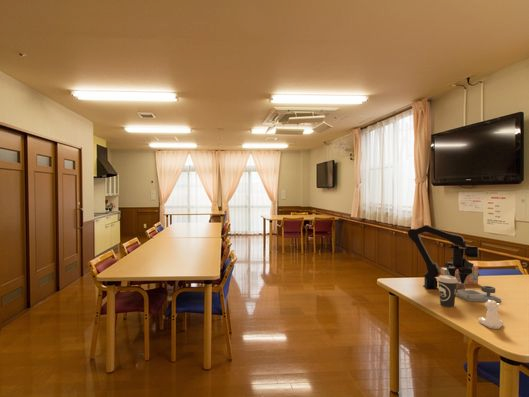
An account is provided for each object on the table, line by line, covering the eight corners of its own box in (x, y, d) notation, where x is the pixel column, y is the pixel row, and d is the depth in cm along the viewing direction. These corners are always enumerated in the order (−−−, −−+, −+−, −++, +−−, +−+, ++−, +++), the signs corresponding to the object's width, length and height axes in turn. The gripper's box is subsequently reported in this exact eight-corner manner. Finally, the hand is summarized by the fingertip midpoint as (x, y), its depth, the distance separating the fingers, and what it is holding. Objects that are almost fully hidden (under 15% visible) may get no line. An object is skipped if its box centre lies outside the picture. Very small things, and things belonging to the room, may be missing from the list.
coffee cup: (457, 309, 164) (457, 280, 164) (436, 305, 169) (436, 277, 169) (457, 304, 172) (458, 276, 172) (437, 300, 177) (437, 273, 177)
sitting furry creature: (502, 324, 145) (502, 298, 145) (508, 332, 137) (508, 304, 137) (477, 321, 148) (478, 295, 148) (482, 328, 140) (482, 301, 140)
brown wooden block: (455, 293, 191) (455, 284, 191) (450, 291, 196) (450, 282, 196) (465, 293, 191) (465, 284, 191) (460, 291, 196) (460, 282, 196)
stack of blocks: (444, 283, 213) (444, 265, 212) (440, 281, 219) (440, 263, 219) (478, 284, 211) (478, 265, 211) (472, 281, 217) (472, 263, 217)
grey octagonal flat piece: (486, 293, 179) (486, 288, 179) (479, 290, 185) (479, 285, 185) (497, 293, 179) (497, 288, 179) (489, 290, 185) (489, 285, 185)
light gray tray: (468, 301, 176) (468, 292, 176) (456, 295, 187) (456, 286, 187) (500, 301, 176) (500, 292, 176) (486, 295, 187) (486, 286, 187)
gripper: (481, 259, 184) (481, 286, 184) (461, 253, 203) (461, 277, 203) (462, 259, 184) (462, 286, 184) (444, 253, 203) (443, 277, 203)
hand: (457, 281), depth 194 cm, fingers open, 9 cm apart
